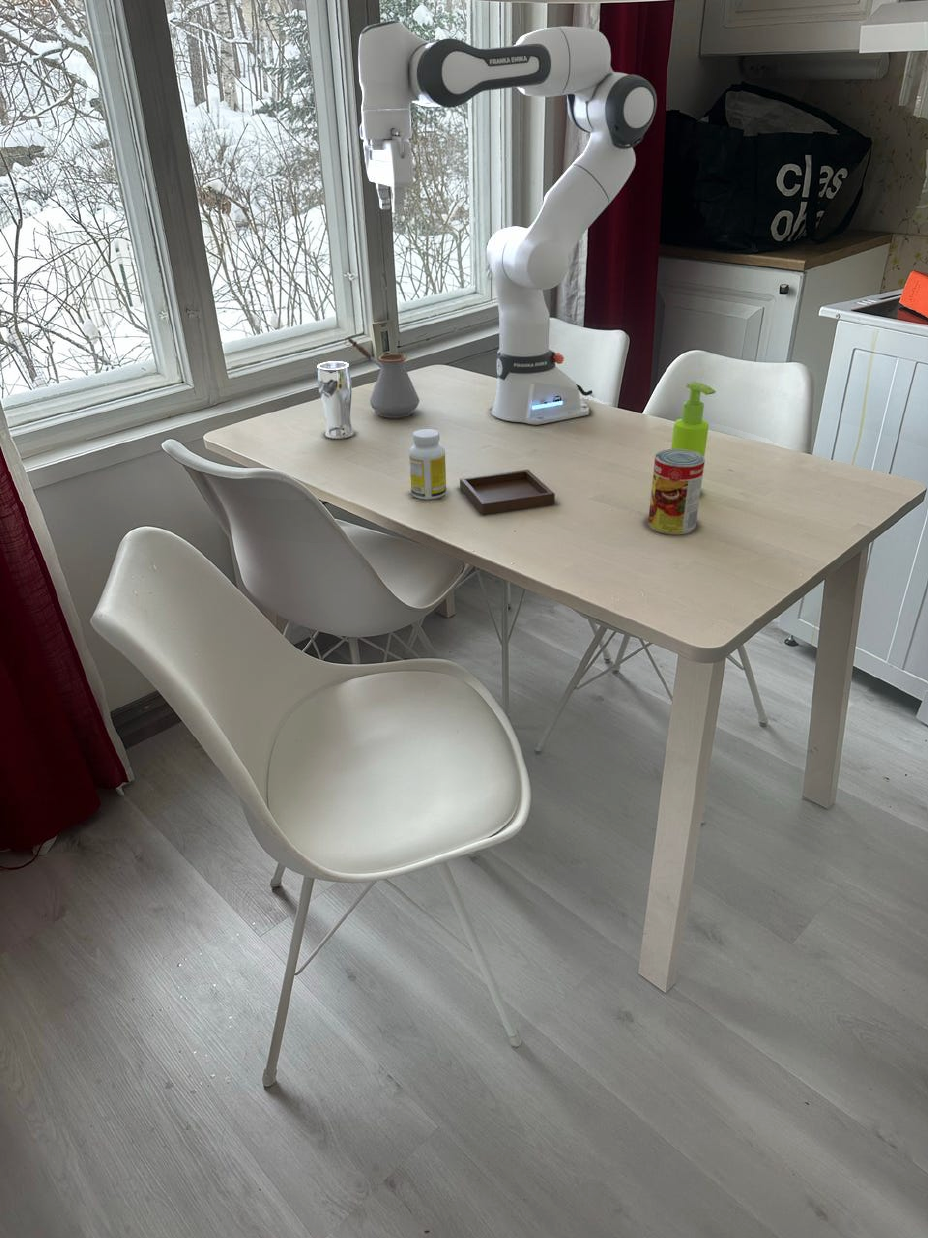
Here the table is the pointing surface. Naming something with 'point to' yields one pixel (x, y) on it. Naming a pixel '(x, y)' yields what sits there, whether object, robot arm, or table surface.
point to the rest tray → (506, 492)
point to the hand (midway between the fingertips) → (391, 211)
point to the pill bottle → (427, 465)
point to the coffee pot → (391, 386)
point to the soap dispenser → (692, 422)
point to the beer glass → (336, 398)
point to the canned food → (675, 491)
